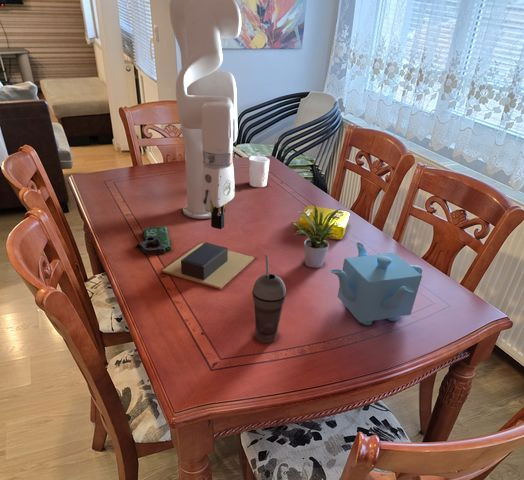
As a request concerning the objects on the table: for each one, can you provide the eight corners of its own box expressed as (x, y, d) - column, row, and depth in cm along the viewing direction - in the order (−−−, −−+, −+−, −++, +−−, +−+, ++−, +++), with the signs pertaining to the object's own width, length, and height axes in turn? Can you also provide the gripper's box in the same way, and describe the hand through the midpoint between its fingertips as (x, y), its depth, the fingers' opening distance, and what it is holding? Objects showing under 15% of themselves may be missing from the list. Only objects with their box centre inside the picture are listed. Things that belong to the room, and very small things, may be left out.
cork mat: (200, 244, 141) (200, 242, 140) (254, 259, 135) (254, 257, 135) (162, 272, 126) (162, 270, 126) (220, 289, 121) (220, 287, 120)
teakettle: (415, 305, 120) (431, 252, 111) (399, 342, 107) (415, 286, 98) (345, 285, 126) (355, 234, 117) (321, 319, 112) (330, 264, 103)
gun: (134, 227, 145) (167, 225, 147) (135, 231, 145) (167, 230, 148) (136, 250, 132) (172, 248, 135) (137, 255, 133) (172, 253, 135)
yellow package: (305, 216, 163) (307, 203, 160) (348, 223, 160) (350, 210, 157) (296, 233, 151) (297, 219, 148) (342, 241, 149) (344, 226, 146)
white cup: (267, 188, 184) (269, 162, 177) (247, 187, 183) (248, 161, 177) (267, 182, 190) (269, 156, 184) (248, 180, 190) (249, 155, 183)
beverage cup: (271, 350, 102) (278, 268, 89) (243, 338, 104) (246, 257, 92) (287, 334, 107) (296, 254, 94) (260, 323, 109) (266, 245, 97)
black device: (205, 241, 132) (180, 260, 122) (227, 247, 130) (203, 266, 120) (206, 255, 134) (181, 273, 125) (227, 260, 132) (203, 280, 123)
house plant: (313, 246, 144) (320, 194, 134) (348, 263, 137) (358, 208, 127) (281, 259, 136) (286, 205, 126) (317, 278, 128) (325, 221, 118)
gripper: (215, 168, 110) (216, 240, 122) (244, 153, 121) (242, 221, 132) (188, 162, 113) (191, 233, 124) (218, 148, 124) (219, 215, 135)
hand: (217, 227), depth 128 cm, fingers closed
